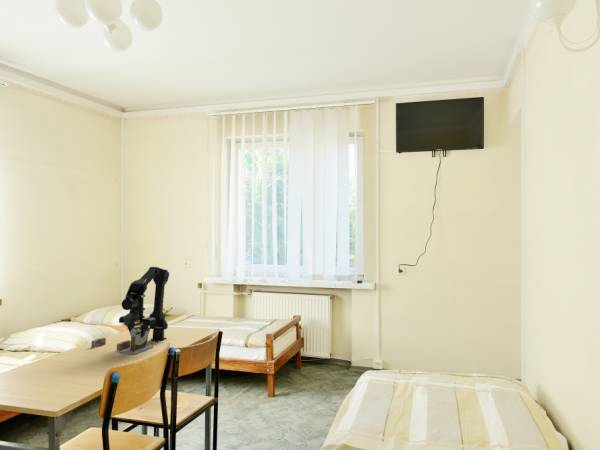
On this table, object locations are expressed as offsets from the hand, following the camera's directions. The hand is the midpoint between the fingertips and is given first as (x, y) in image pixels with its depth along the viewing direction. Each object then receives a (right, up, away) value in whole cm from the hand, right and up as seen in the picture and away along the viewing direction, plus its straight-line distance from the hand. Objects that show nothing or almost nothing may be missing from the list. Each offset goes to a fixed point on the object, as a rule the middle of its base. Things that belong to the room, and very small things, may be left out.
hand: (137, 336), depth 235 cm
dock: (-15, -7, +5) cm, 17 cm away
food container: (-1, -6, +1) cm, 6 cm away
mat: (0, -7, 0) cm, 7 cm away
